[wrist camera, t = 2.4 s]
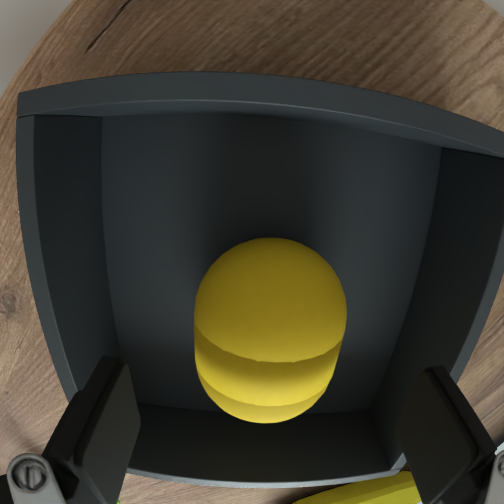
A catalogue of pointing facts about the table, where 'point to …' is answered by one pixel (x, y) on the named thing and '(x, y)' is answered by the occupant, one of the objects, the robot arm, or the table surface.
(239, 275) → the yellow rounded tiered object
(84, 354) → the crate
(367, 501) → the banana
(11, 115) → the table surface
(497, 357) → the table surface
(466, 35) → the table surface
